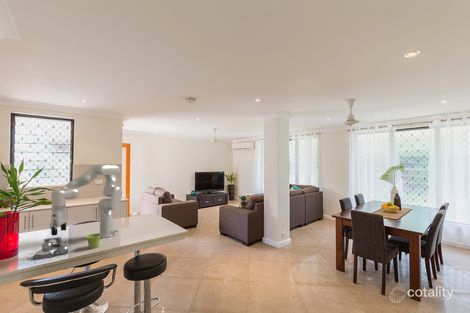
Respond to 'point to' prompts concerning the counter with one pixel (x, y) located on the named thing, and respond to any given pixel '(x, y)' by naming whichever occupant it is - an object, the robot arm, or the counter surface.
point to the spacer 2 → (63, 250)
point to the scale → (55, 249)
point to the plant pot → (93, 240)
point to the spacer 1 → (46, 246)
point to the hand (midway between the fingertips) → (59, 232)
